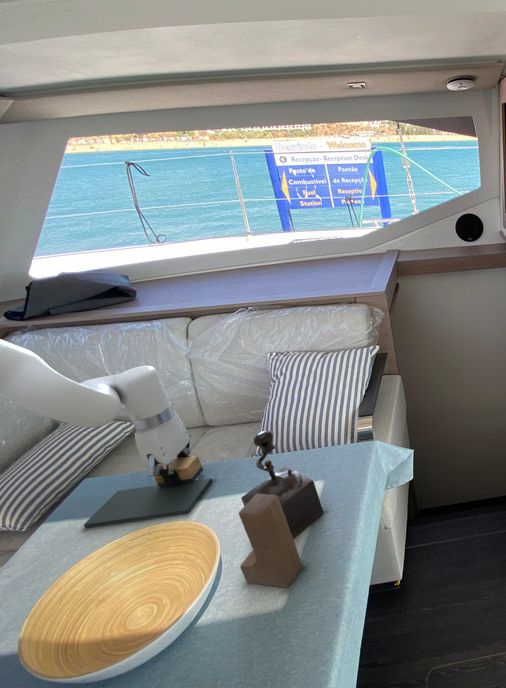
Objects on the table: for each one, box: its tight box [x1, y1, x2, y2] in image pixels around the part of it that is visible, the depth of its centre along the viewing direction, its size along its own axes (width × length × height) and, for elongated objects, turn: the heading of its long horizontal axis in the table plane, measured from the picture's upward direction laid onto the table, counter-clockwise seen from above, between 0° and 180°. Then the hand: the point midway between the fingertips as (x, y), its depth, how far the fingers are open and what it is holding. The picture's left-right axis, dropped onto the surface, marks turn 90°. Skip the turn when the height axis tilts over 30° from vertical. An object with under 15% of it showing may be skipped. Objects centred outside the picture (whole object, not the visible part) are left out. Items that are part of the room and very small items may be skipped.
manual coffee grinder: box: [240, 430, 325, 540], centre depth 88 cm, size 16×11×18 cm
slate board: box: [83, 477, 214, 529], centre depth 98 cm, size 22×10×1 cm, turn 97°
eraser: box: [153, 455, 204, 487], centre depth 103 cm, size 8×4×4 cm, turn 97°
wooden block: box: [238, 494, 303, 589], centre depth 75 cm, size 9×4×18 cm, turn 80°
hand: (181, 477), depth 104 cm, fingers closed on eraser, 4 cm apart
